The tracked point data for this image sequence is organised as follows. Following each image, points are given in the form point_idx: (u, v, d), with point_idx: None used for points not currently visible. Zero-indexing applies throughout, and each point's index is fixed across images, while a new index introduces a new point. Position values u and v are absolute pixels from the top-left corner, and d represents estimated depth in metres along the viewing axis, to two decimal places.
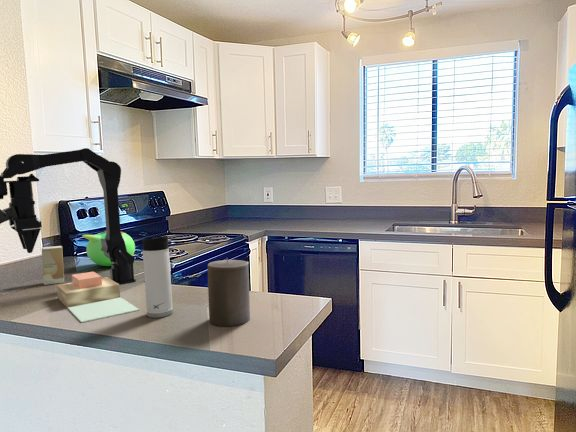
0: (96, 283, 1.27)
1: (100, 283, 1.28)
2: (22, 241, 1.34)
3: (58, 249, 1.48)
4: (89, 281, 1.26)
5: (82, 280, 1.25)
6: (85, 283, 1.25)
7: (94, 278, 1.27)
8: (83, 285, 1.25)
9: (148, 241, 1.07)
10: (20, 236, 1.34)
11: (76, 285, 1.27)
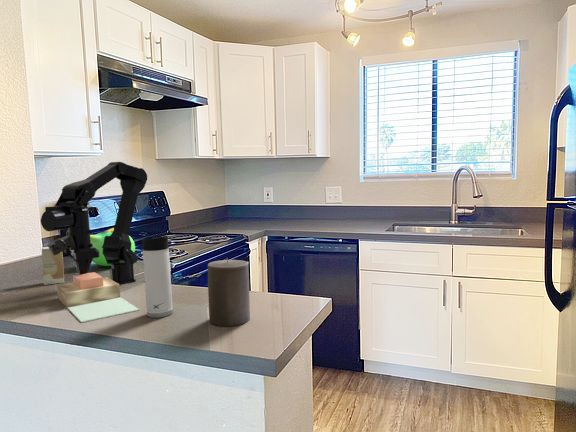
0: (98, 284, 1.26)
1: (101, 284, 1.27)
2: None
3: None
4: (91, 281, 1.25)
5: (83, 281, 1.24)
6: (86, 284, 1.24)
7: (95, 279, 1.26)
8: (84, 285, 1.24)
9: (148, 241, 1.07)
10: (78, 265, 1.32)
11: (77, 286, 1.26)
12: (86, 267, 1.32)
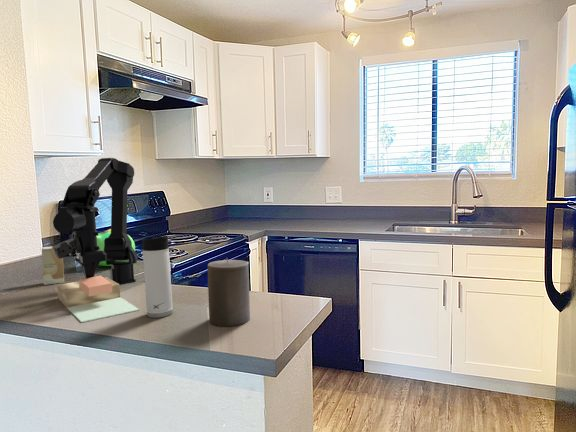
0: (106, 291, 1.20)
1: (110, 290, 1.21)
2: None
3: None
4: (99, 288, 1.19)
5: (92, 287, 1.18)
6: (94, 291, 1.18)
7: (104, 285, 1.20)
8: (92, 292, 1.18)
9: (148, 241, 1.07)
10: (84, 269, 1.26)
11: (84, 292, 1.20)
12: (92, 271, 1.26)
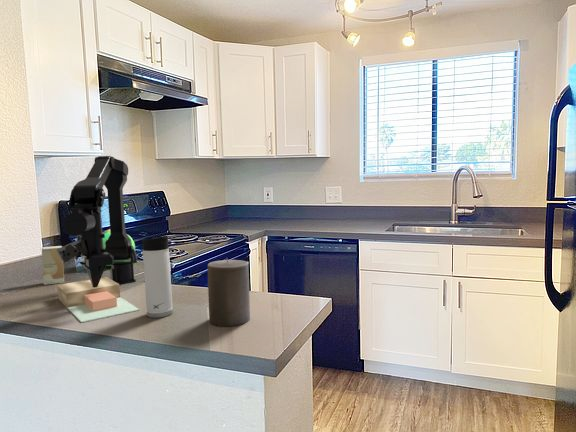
0: (111, 305, 1.18)
1: (115, 305, 1.19)
2: None
3: None
4: (104, 302, 1.17)
5: (96, 302, 1.16)
6: (99, 306, 1.16)
7: (109, 299, 1.17)
8: (97, 307, 1.16)
9: (148, 241, 1.07)
10: None
11: (89, 307, 1.18)
12: (99, 275, 1.21)
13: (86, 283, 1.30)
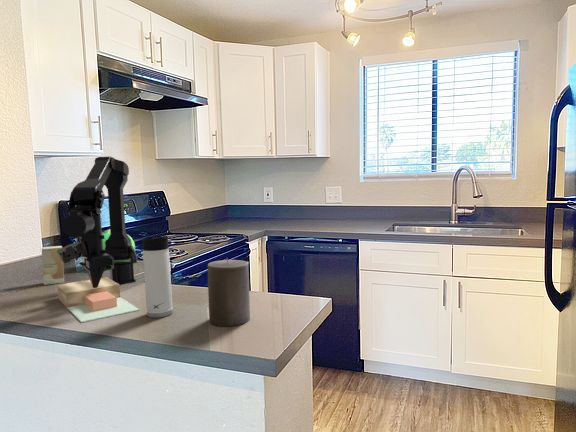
0: (111, 305, 1.18)
1: (115, 305, 1.19)
2: None
3: (58, 249, 1.48)
4: (104, 302, 1.17)
5: (96, 302, 1.16)
6: (99, 306, 1.16)
7: (109, 299, 1.17)
8: (97, 307, 1.16)
9: (148, 241, 1.07)
10: None
11: (89, 307, 1.18)
12: (99, 275, 1.22)
13: (86, 283, 1.30)
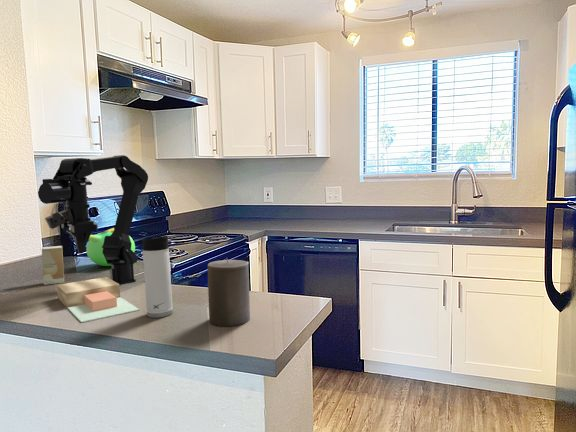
0: (111, 305, 1.18)
1: (115, 305, 1.19)
2: None
3: (58, 249, 1.48)
4: (104, 302, 1.17)
5: (96, 302, 1.16)
6: (99, 306, 1.16)
7: (109, 299, 1.17)
8: (97, 307, 1.16)
9: (148, 241, 1.07)
10: (76, 240, 1.32)
11: (89, 307, 1.18)
12: (84, 242, 1.32)
13: (86, 283, 1.30)
